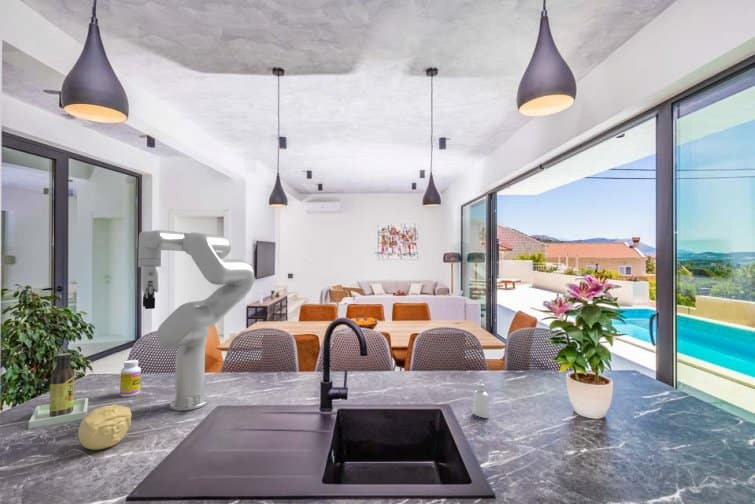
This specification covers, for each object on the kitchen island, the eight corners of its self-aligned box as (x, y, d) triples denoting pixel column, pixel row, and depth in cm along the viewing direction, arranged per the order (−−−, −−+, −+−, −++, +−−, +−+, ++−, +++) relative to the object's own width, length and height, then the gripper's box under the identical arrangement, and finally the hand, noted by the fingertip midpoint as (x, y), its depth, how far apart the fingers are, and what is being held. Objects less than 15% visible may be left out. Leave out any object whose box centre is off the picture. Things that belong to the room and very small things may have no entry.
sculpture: (89, 459, 98) (90, 417, 99) (70, 447, 105) (71, 408, 105) (136, 441, 108) (137, 403, 108) (116, 431, 114) (117, 395, 115)
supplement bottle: (132, 397, 143) (133, 363, 144) (115, 397, 143) (116, 363, 144) (144, 391, 150) (144, 359, 150) (127, 391, 150) (128, 359, 150)
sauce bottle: (72, 415, 125) (74, 355, 126) (47, 419, 122) (49, 357, 122) (74, 408, 130) (76, 351, 131) (51, 412, 127) (53, 353, 127)
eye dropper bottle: (484, 412, 130) (484, 377, 131) (490, 419, 125) (490, 382, 125) (472, 412, 130) (472, 377, 130) (477, 419, 124) (477, 382, 125)
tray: (86, 418, 124) (86, 411, 124) (28, 429, 115) (28, 422, 116) (88, 403, 137) (88, 397, 137) (36, 412, 128) (36, 406, 128)
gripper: (163, 263, 141) (162, 309, 140) (158, 263, 155) (157, 304, 154) (139, 263, 136) (138, 310, 136) (136, 263, 150) (135, 306, 150)
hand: (148, 307), depth 145 cm, fingers open, 9 cm apart
